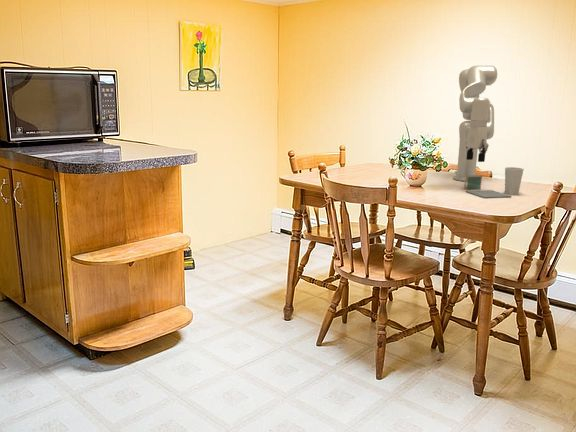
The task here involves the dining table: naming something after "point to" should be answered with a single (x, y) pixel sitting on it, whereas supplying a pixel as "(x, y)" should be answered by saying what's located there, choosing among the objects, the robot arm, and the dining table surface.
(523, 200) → the dining table surface
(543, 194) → the dining table surface
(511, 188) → the cup
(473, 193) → the mat
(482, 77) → the robot arm
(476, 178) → the tile
